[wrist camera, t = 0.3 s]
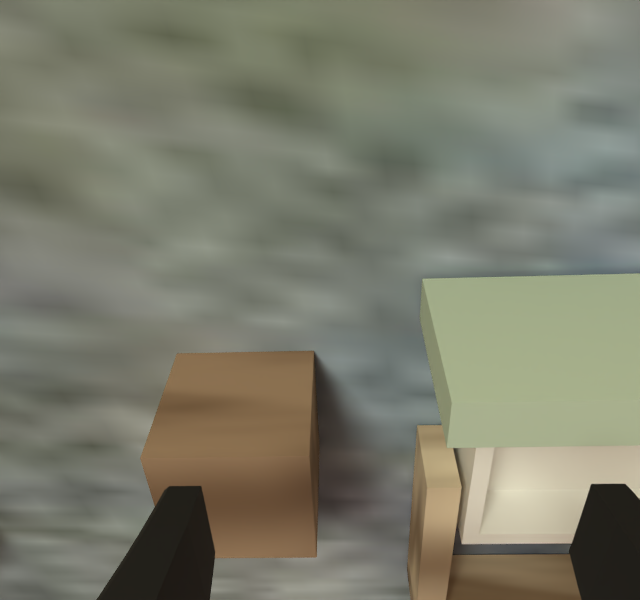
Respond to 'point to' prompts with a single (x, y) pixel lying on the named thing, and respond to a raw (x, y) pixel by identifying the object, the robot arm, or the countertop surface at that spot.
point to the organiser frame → (467, 570)
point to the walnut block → (242, 448)
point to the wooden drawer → (535, 396)
